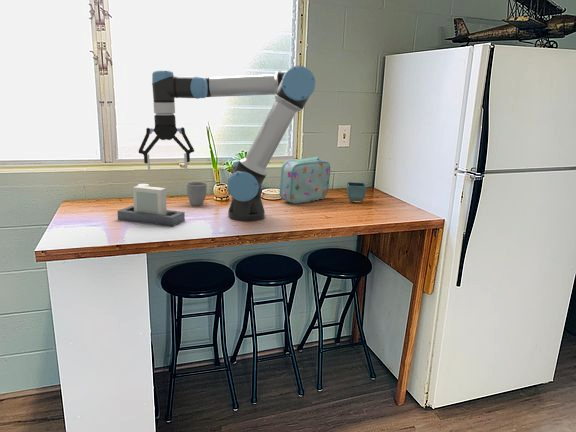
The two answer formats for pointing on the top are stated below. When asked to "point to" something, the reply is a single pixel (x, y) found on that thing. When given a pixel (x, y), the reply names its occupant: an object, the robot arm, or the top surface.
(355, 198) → the flower pot
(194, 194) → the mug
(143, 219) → the grey rectangular tray
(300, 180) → the lunch box
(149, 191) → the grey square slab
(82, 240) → the top surface
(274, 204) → the top surface
